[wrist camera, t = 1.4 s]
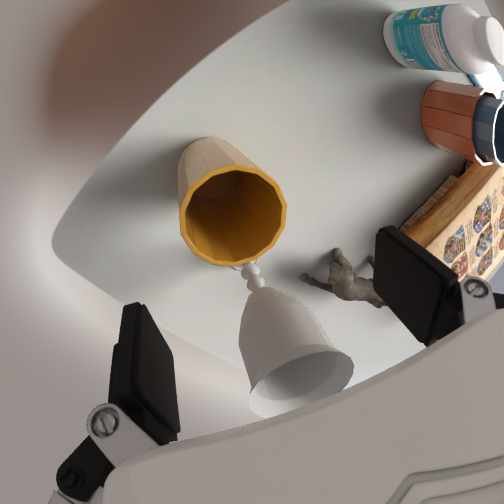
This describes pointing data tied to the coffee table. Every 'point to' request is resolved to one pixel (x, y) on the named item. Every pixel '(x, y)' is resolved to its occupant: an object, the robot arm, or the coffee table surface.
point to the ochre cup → (227, 204)
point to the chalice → (286, 350)
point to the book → (464, 221)
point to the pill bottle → (445, 39)
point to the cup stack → (465, 121)
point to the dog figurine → (347, 282)
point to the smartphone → (490, 81)
